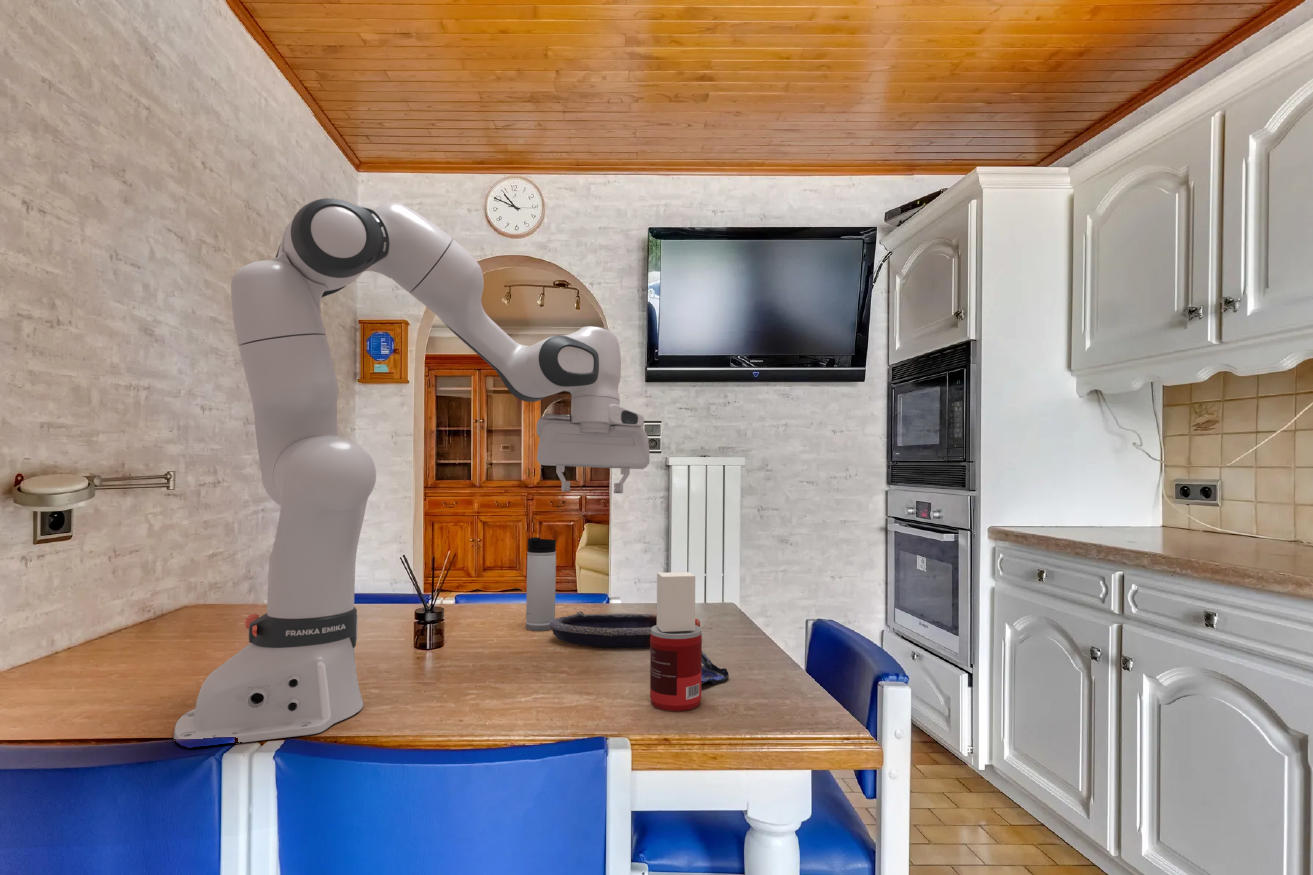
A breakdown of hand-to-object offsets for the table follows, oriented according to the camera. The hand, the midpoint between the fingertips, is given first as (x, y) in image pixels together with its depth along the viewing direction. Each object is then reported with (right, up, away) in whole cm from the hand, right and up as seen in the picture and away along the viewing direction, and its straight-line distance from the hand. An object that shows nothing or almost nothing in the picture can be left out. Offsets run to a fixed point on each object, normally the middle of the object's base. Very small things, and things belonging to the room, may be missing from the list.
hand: (592, 492), depth 121 cm
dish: (+5, -32, +16) cm, 36 cm away
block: (+14, -19, -20) cm, 31 cm away
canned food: (+14, -30, -20) cm, 39 cm away
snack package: (+17, -31, -9) cm, 37 cm away
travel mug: (-14, -32, +27) cm, 44 cm away
